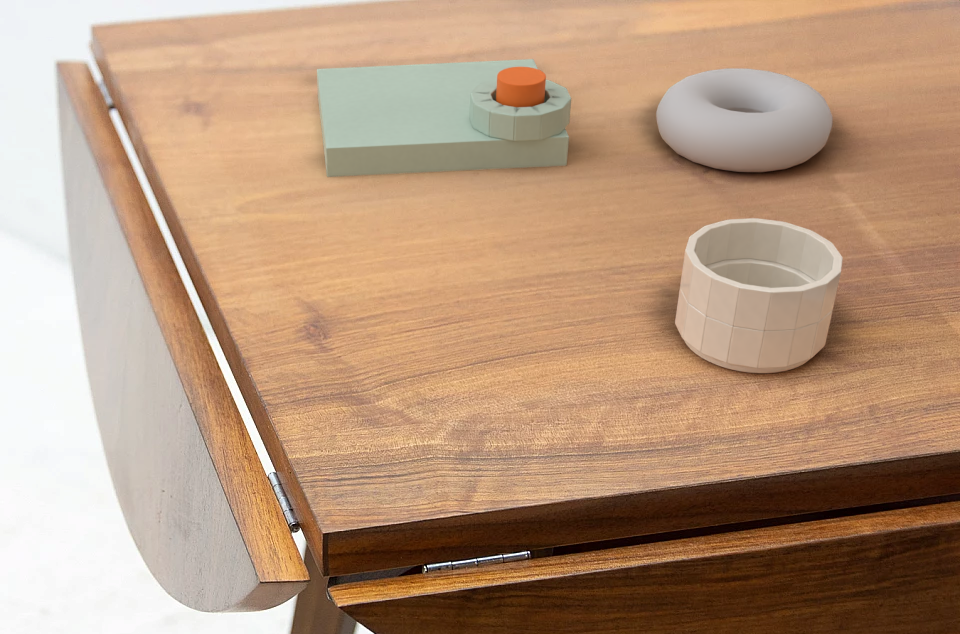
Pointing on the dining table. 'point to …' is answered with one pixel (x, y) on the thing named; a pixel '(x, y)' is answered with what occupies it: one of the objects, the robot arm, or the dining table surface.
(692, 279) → the bowl
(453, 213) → the dining table surface
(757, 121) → the donut
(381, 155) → the scale
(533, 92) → the button
